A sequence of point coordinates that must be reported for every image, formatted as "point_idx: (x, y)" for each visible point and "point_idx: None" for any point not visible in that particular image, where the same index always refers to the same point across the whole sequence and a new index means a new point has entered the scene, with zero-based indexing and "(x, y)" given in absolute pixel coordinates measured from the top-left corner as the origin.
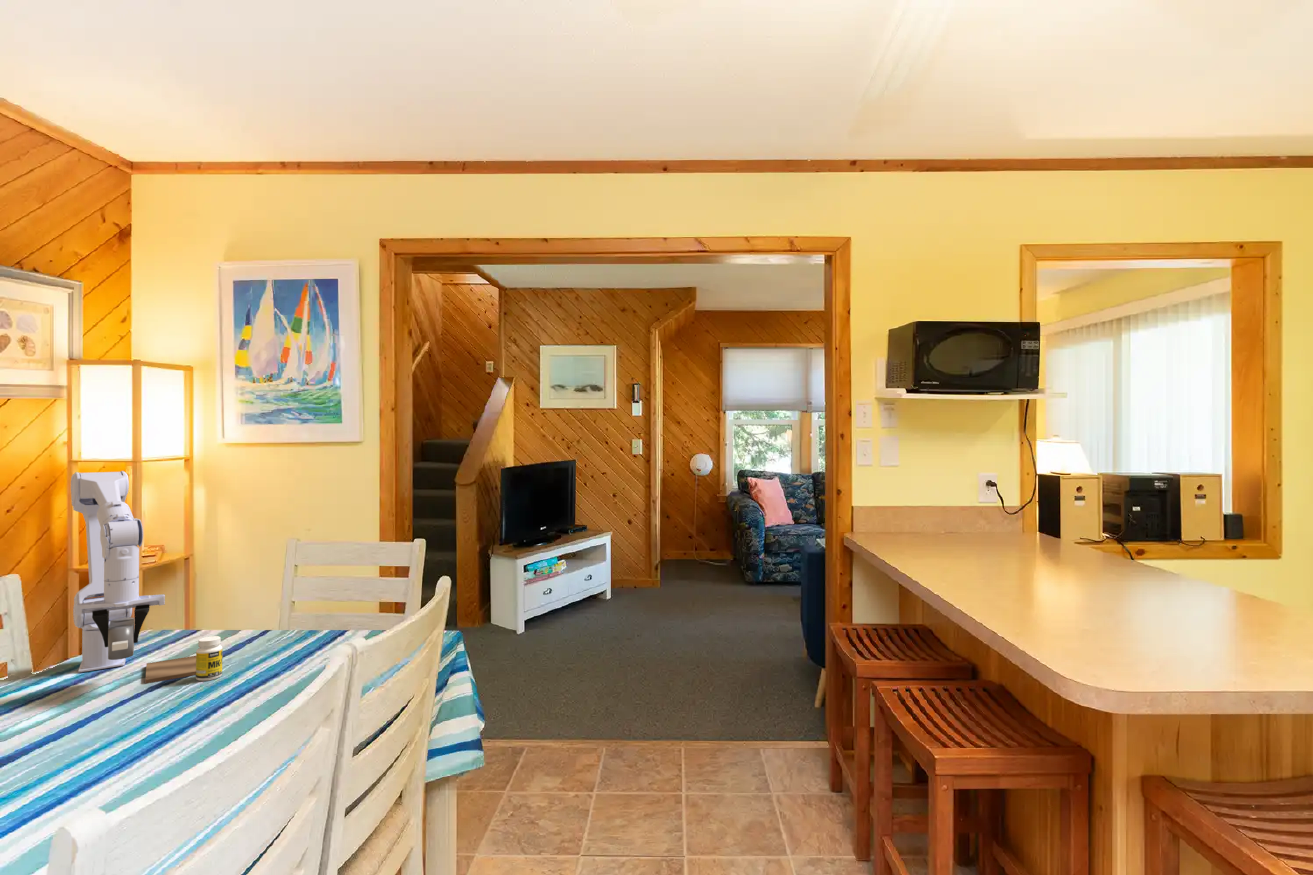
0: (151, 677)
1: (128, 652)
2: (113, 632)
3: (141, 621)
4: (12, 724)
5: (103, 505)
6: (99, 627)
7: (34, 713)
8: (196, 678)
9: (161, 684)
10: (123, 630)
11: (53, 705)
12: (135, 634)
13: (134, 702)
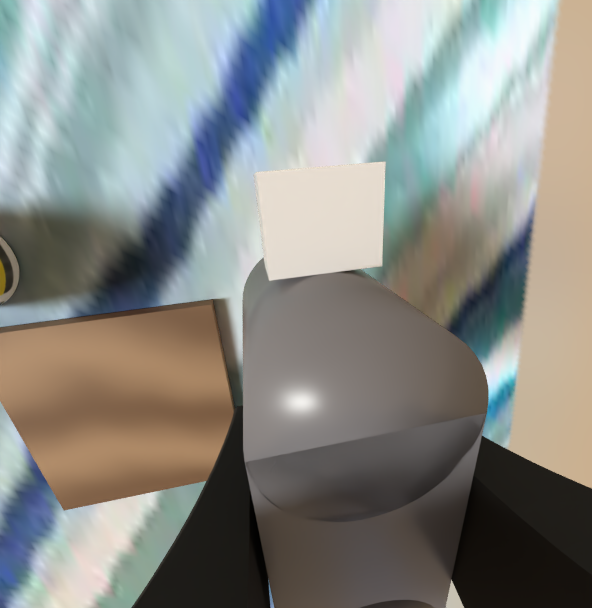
0: (196, 324)
1: (260, 269)
2: (426, 316)
3: (176, 568)
4: (550, 45)
5: None
6: (545, 472)
7: (492, 143)
8: (5, 246)
9: (151, 262)
10: (331, 319)
11: (447, 204)
12: (242, 441)
13: (199, 49)
